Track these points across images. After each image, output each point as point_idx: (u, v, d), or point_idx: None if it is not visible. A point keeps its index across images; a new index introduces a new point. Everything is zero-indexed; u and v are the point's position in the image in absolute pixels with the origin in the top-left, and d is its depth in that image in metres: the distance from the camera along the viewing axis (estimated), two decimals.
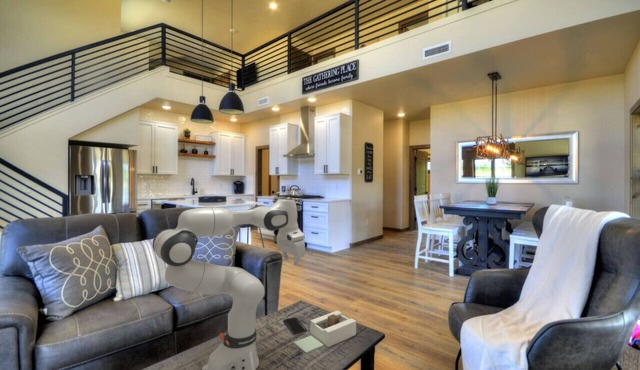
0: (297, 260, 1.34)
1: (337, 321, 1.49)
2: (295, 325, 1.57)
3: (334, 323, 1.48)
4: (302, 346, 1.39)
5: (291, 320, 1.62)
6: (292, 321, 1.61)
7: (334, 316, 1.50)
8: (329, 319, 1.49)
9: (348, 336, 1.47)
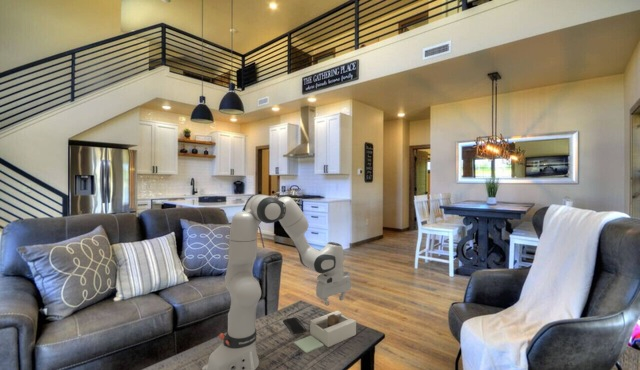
0: (325, 301, 1.46)
1: (337, 321, 1.49)
2: (295, 325, 1.57)
3: (334, 323, 1.48)
4: (302, 346, 1.39)
5: (291, 320, 1.62)
6: (292, 321, 1.61)
7: (334, 316, 1.50)
8: (329, 319, 1.49)
9: (348, 336, 1.47)
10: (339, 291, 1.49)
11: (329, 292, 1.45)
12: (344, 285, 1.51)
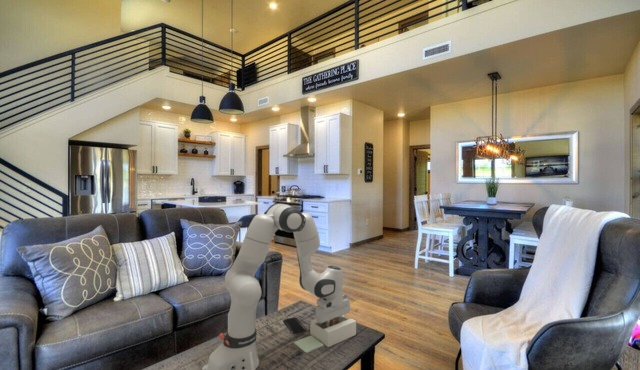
0: (327, 323, 1.48)
1: (337, 321, 1.49)
2: (295, 325, 1.57)
3: (334, 323, 1.48)
4: (302, 346, 1.39)
5: (291, 320, 1.62)
6: (292, 321, 1.61)
7: None
8: None
9: (348, 336, 1.47)
10: (338, 314, 1.50)
11: (328, 316, 1.46)
12: (343, 309, 1.52)
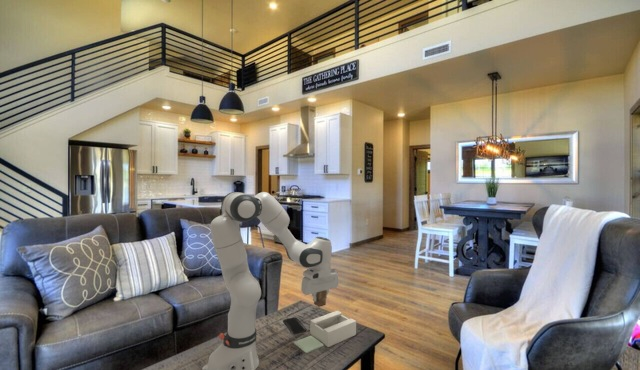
0: (313, 296, 1.42)
1: (324, 294, 1.43)
2: (295, 325, 1.57)
3: (321, 296, 1.42)
4: (302, 346, 1.39)
5: (291, 320, 1.62)
6: (292, 321, 1.61)
7: None
8: None
9: (348, 336, 1.47)
10: (325, 288, 1.44)
11: (315, 288, 1.40)
12: (331, 283, 1.46)
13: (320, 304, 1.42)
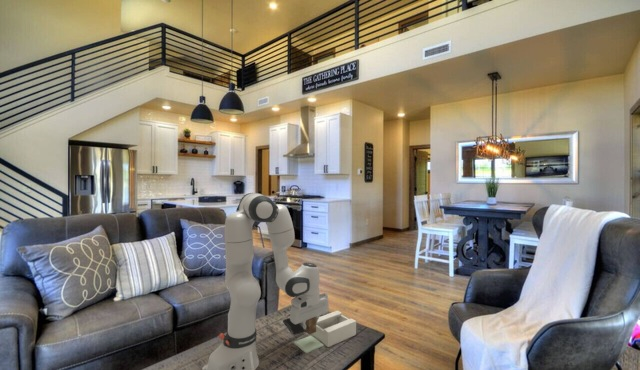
0: (303, 324, 1.39)
1: (314, 321, 1.40)
2: (295, 325, 1.57)
3: (311, 324, 1.39)
4: (302, 346, 1.39)
5: None
6: None
7: None
8: None
9: (348, 336, 1.47)
10: (315, 314, 1.40)
11: (304, 317, 1.36)
12: (321, 308, 1.43)
13: (310, 331, 1.39)
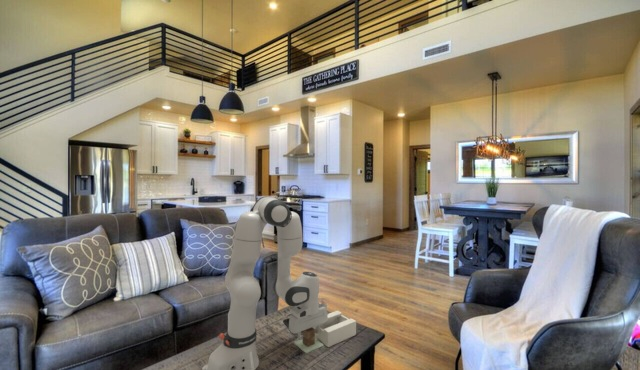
0: (298, 335, 1.37)
1: (312, 333, 1.40)
2: None
3: (309, 336, 1.39)
4: (302, 346, 1.39)
5: None
6: None
7: (310, 328, 1.41)
8: (304, 331, 1.40)
9: (348, 336, 1.47)
10: (314, 324, 1.40)
11: (303, 326, 1.36)
12: (320, 318, 1.42)
13: (309, 344, 1.39)
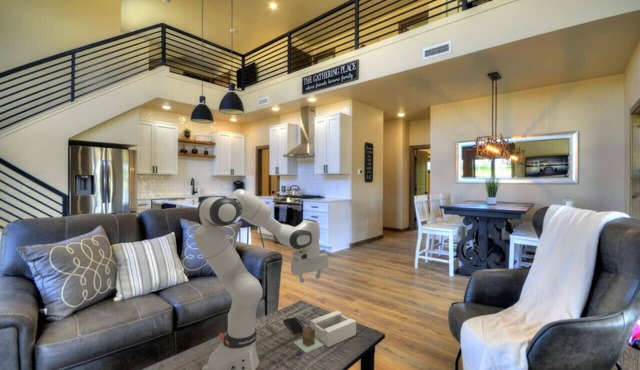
0: (300, 278, 1.44)
1: (312, 333, 1.40)
2: (295, 325, 1.57)
3: (309, 336, 1.39)
4: (302, 346, 1.39)
5: (291, 320, 1.62)
6: (292, 321, 1.61)
7: (310, 328, 1.41)
8: (304, 331, 1.40)
9: (348, 336, 1.47)
10: (315, 268, 1.47)
11: (304, 269, 1.43)
12: (321, 263, 1.49)
13: (309, 344, 1.39)
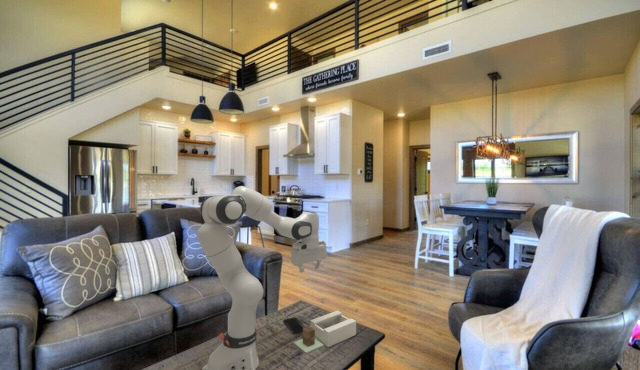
0: (299, 268, 1.48)
1: (312, 333, 1.40)
2: (295, 325, 1.57)
3: (309, 336, 1.39)
4: (302, 346, 1.39)
5: (291, 320, 1.62)
6: (292, 321, 1.61)
7: (310, 328, 1.41)
8: (304, 331, 1.40)
9: (348, 336, 1.47)
10: (314, 259, 1.51)
11: (304, 259, 1.47)
12: (320, 254, 1.53)
13: (309, 344, 1.39)
